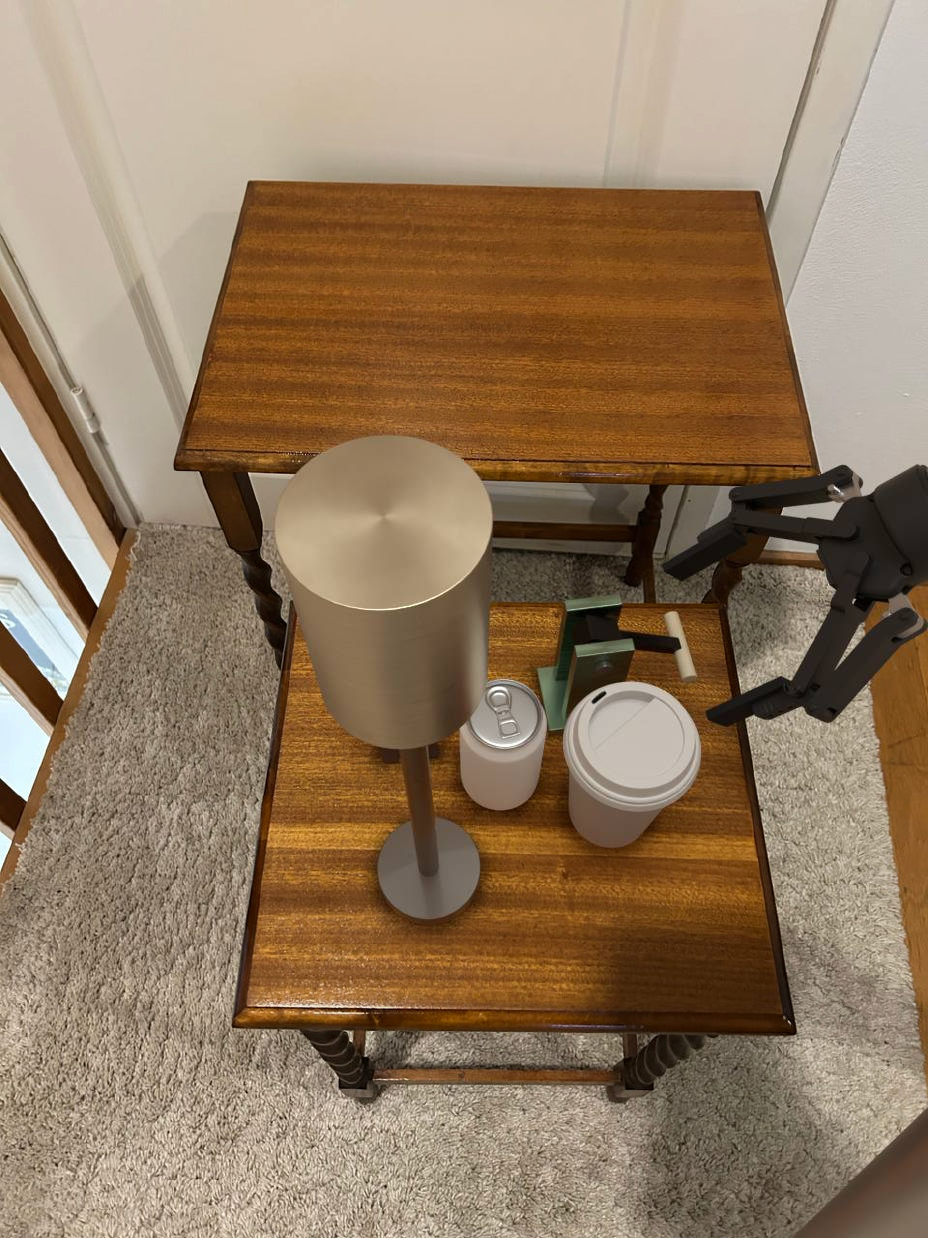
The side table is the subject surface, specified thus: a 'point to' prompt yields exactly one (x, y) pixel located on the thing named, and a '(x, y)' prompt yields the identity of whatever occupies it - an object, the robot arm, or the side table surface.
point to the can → (503, 746)
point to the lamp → (397, 629)
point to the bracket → (582, 662)
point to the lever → (640, 639)
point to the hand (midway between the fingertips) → (692, 643)
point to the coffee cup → (627, 760)
